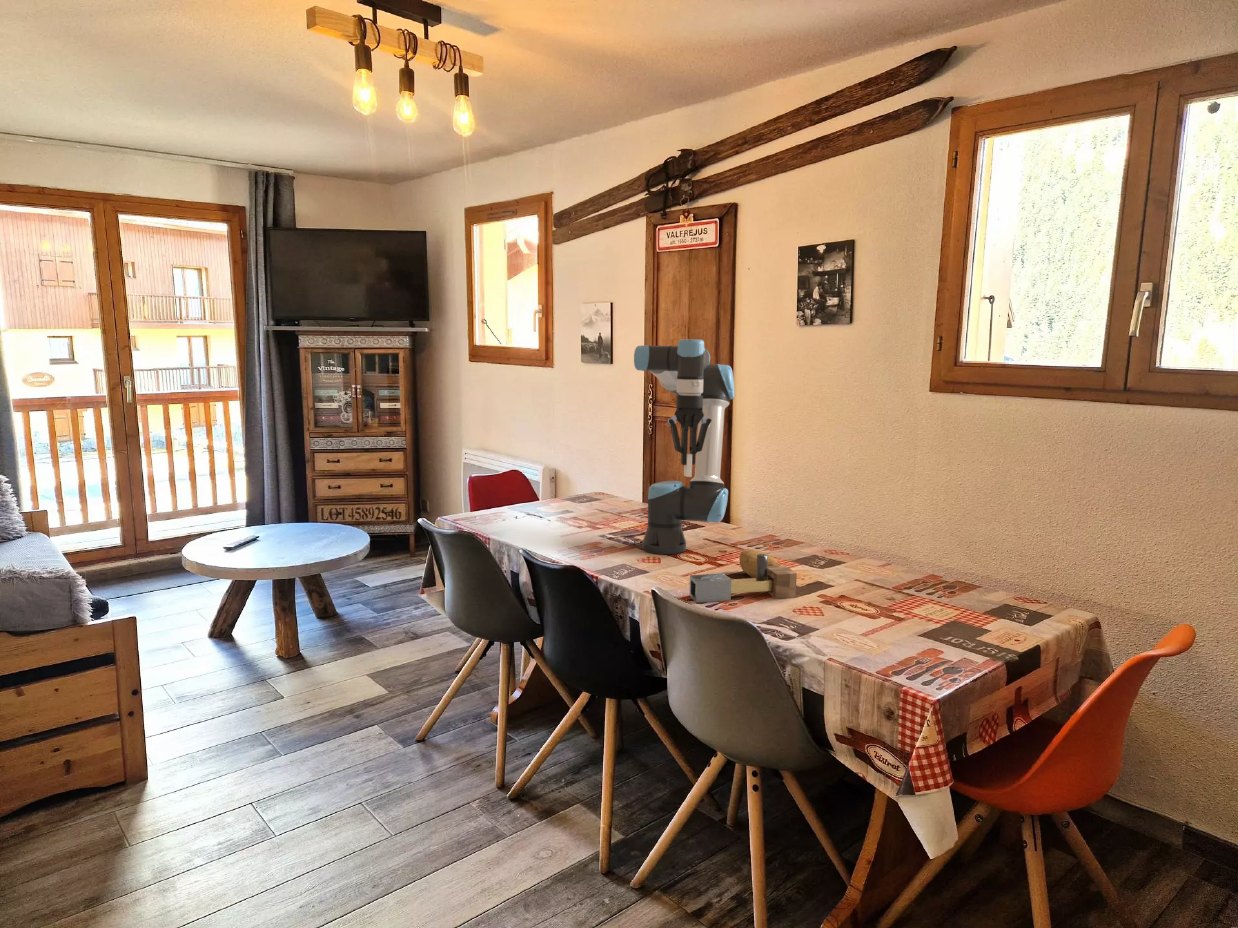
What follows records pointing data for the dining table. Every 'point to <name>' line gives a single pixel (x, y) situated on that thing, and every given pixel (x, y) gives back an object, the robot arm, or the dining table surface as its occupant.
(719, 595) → the sleeve
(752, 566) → the potato
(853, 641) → the dining table surface
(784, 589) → the socket
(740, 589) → the sliding bolt
